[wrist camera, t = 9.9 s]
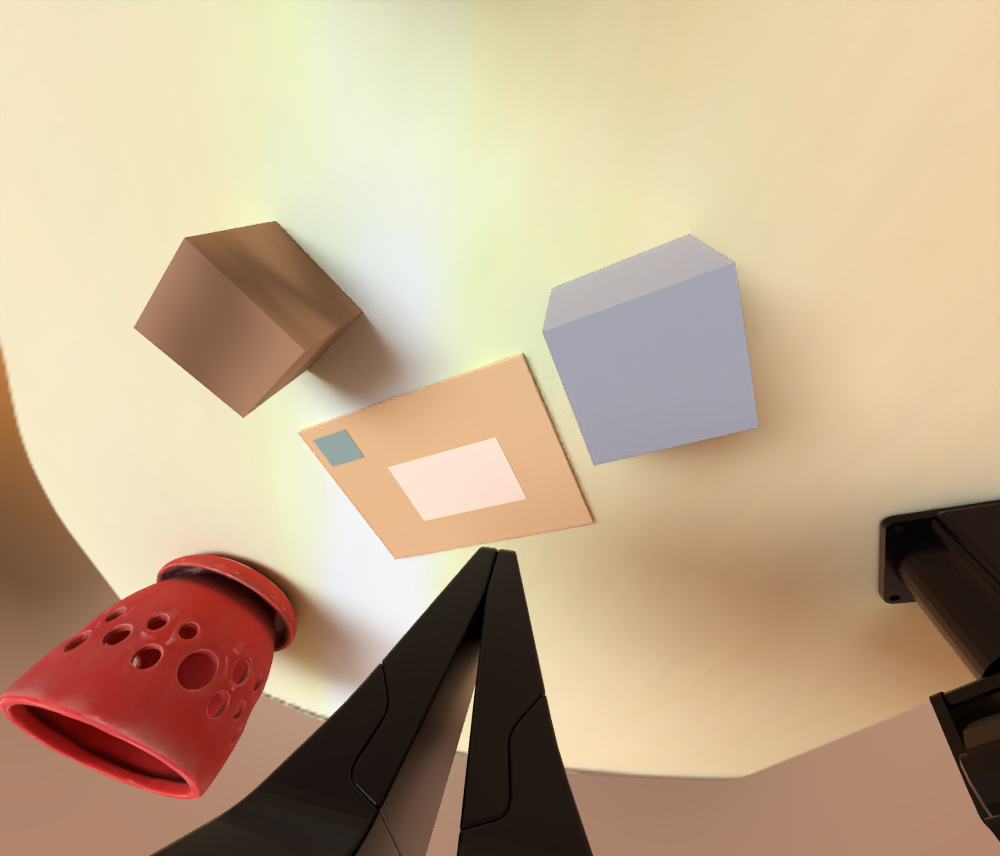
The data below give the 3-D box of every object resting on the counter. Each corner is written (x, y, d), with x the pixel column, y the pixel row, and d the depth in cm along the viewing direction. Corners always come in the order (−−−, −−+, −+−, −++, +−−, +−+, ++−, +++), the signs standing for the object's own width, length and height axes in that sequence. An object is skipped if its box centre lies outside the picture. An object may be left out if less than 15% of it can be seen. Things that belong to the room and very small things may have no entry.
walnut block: (363, 310, 19) (305, 350, 15) (307, 369, 22) (243, 417, 17) (276, 220, 18) (184, 237, 14) (226, 294, 20) (133, 327, 16)
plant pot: (245, 525, 30) (76, 706, 20) (338, 631, 36) (245, 811, 26) (128, 545, 34) (-61, 704, 24) (230, 637, 40) (114, 795, 30)
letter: (592, 519, 24) (592, 523, 24) (396, 555, 29) (395, 559, 28) (522, 352, 19) (521, 355, 19) (301, 430, 24) (297, 433, 24)
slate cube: (713, 360, 18) (759, 427, 13) (590, 396, 20) (594, 465, 15) (688, 233, 16) (735, 262, 11) (551, 288, 17) (542, 331, 13)
